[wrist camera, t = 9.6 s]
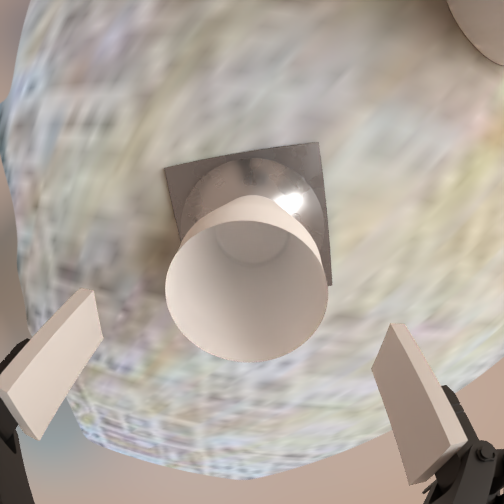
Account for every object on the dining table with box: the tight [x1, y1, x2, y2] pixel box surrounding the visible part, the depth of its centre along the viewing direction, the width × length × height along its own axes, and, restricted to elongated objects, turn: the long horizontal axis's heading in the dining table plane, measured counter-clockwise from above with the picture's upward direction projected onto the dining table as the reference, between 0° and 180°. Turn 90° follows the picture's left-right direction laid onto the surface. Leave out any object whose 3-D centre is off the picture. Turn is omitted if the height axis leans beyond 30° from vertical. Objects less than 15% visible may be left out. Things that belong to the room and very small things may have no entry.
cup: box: [165, 195, 328, 362], centre depth 21 cm, size 9×9×12 cm
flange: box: [165, 142, 332, 286], centre depth 28 cm, size 14×14×2 cm
